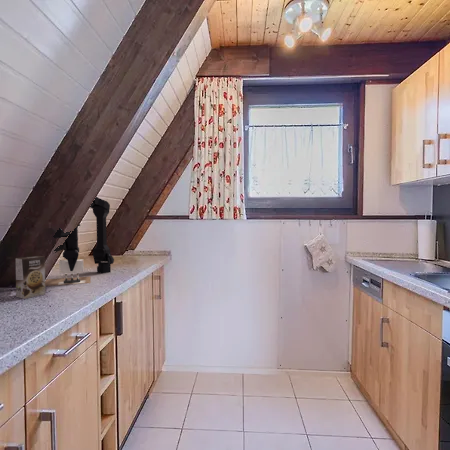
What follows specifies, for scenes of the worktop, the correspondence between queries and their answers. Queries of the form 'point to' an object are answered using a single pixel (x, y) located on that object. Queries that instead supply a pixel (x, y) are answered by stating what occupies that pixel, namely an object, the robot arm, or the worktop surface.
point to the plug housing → (65, 268)
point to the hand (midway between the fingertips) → (71, 269)
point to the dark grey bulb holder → (72, 279)
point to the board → (61, 280)
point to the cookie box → (30, 276)
